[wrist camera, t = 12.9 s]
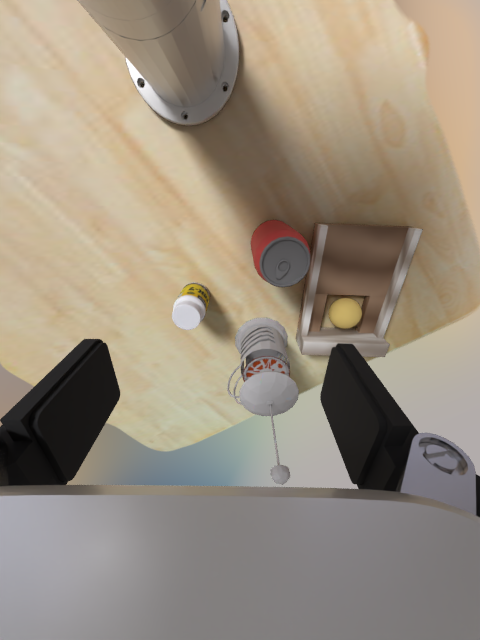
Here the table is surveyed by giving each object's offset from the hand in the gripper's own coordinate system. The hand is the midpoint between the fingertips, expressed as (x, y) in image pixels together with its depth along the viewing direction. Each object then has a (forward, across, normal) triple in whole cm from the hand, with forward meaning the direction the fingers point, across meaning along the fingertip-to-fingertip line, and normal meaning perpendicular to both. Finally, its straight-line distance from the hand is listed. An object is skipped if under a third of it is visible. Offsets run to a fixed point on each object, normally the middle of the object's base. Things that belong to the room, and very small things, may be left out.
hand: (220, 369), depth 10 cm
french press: (+30, -4, +18) cm, 36 cm away
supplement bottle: (+30, +6, +9) cm, 32 cm away
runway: (+30, -19, +7) cm, 36 cm away
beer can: (+30, -6, 0) cm, 31 cm away
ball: (+28, -18, +11) cm, 35 cm away
